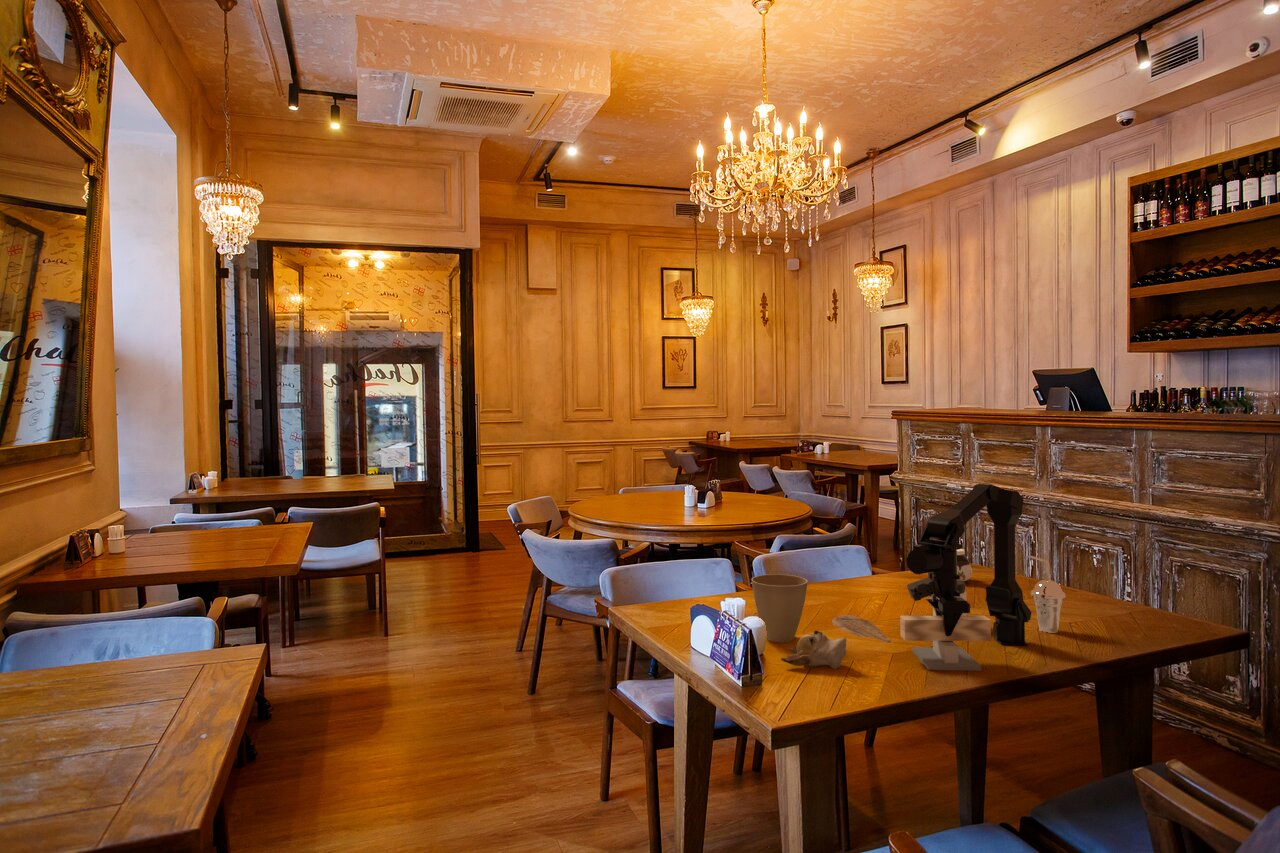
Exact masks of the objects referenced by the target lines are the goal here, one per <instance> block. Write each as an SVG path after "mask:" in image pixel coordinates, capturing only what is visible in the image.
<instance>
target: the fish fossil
mask: <svg viewBox="0 0 1280 853" xmlns="http://www.w3.org/2000/svg"><path fill="white" fill-rule="evenodd" d="M831 624H832V625H833V626H835V627H837V628H839V629H840V630H843V631H845V632H847V633H849V634H851V635H854V636H856V637H859V638H863V637H865V638H871V639H876V640H879V641H881V642H882V643H891V641H892V640H891V639H890V638H889V637H888V636H887V635H885V634H884V633H883V632H882V630H880V628H878V627H877V626H876V625H875V624H874V623H873V622H871V621H870V620H867V619H864V618H862V617H859V616H856V615H851V614H849V615H848V614H843V615H839V616H836V617H833V619H832V620H831Z"/></svg>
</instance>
